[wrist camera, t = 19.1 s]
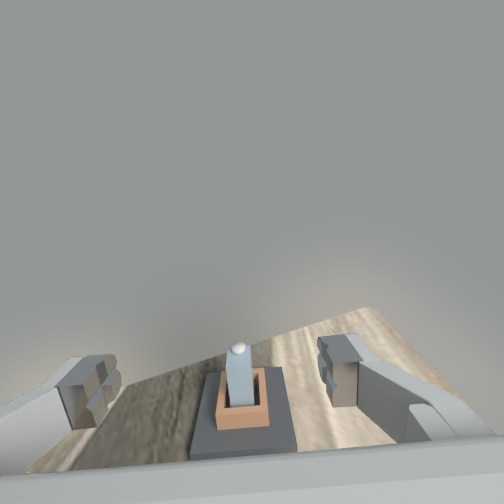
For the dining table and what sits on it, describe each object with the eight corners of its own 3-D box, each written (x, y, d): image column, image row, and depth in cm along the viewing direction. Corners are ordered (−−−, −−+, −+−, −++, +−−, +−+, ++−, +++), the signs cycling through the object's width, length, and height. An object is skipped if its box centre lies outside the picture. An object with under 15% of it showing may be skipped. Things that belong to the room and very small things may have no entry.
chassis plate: (190, 461, 35) (186, 439, 34) (208, 378, 50) (205, 361, 49) (297, 453, 35) (296, 429, 34) (281, 372, 50) (280, 354, 49)
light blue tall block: (232, 416, 40) (224, 362, 37) (233, 392, 45) (227, 342, 42) (255, 414, 40) (249, 359, 37) (254, 390, 45) (249, 340, 42)
